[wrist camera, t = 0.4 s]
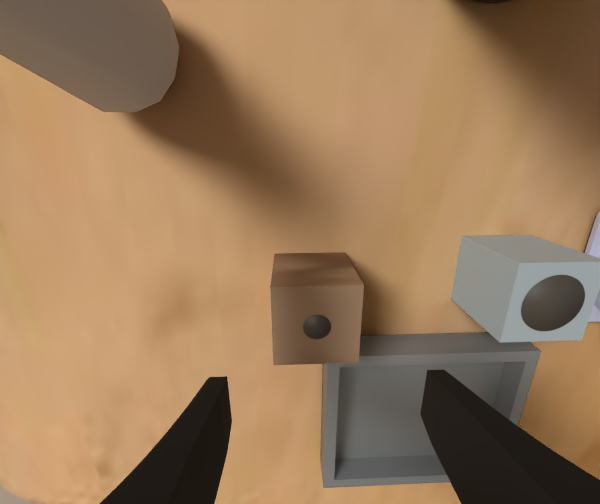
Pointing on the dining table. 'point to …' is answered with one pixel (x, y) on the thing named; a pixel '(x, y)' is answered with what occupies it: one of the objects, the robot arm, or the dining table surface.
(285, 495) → the dining table surface
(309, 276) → the small bore block
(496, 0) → the olive oil
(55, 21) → the salt shaker
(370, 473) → the tray
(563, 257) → the wide bore block
